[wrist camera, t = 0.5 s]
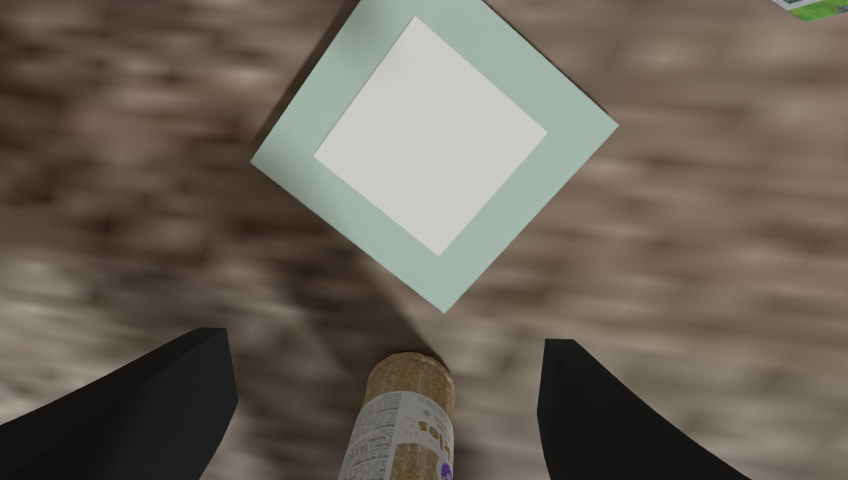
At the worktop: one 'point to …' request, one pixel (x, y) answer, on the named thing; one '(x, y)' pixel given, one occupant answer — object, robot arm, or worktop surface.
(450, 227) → the green white square tile
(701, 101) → the worktop surface
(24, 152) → the worktop surface
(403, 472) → the sprinkles bottle
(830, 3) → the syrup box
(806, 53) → the worktop surface
